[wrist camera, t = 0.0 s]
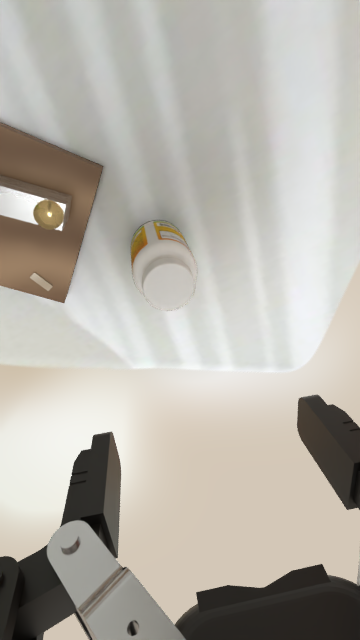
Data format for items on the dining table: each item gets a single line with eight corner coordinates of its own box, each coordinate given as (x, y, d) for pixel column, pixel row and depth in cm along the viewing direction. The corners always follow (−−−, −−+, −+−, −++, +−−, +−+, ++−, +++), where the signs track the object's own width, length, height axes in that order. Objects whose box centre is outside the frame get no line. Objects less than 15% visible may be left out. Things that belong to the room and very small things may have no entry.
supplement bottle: (142, 278, 34) (148, 328, 26) (121, 230, 31) (121, 269, 23) (190, 261, 34) (212, 305, 25) (174, 211, 31) (193, 243, 22)
